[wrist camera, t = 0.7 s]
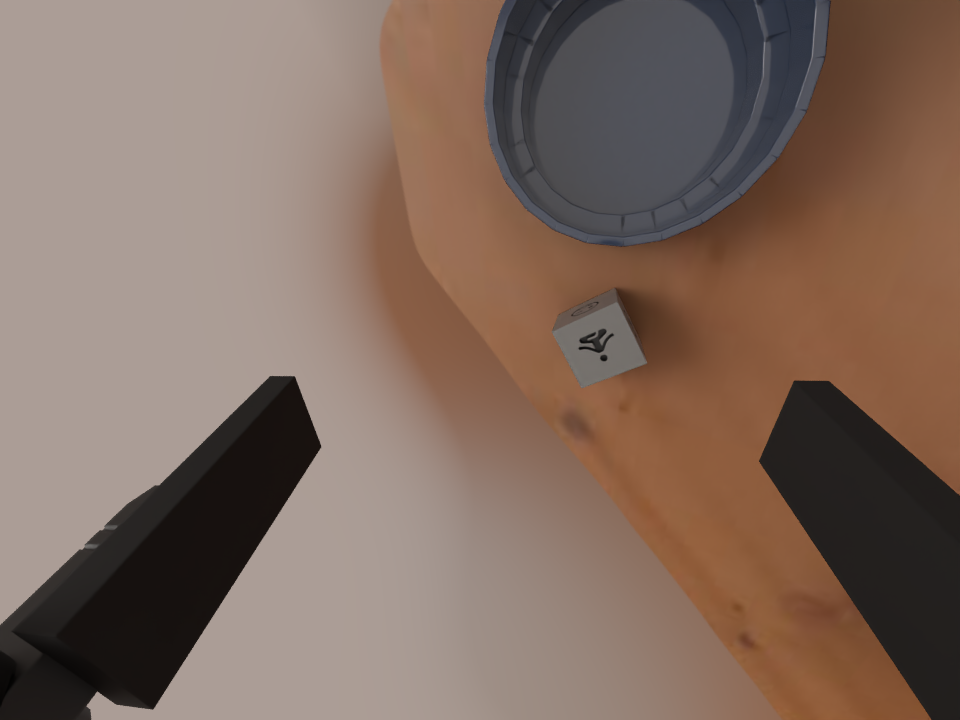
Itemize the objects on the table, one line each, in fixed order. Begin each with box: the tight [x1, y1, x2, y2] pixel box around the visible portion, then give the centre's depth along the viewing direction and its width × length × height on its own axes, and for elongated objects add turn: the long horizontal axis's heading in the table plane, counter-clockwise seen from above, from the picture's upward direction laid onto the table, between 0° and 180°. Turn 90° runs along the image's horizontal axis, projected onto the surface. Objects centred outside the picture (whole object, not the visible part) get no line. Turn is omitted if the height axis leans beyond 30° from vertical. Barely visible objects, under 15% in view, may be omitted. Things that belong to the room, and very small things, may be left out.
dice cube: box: [552, 288, 647, 388], centre depth 30 cm, size 5×5×5 cm
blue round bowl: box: [484, 0, 831, 247], centre depth 24 cm, size 17×17×6 cm
